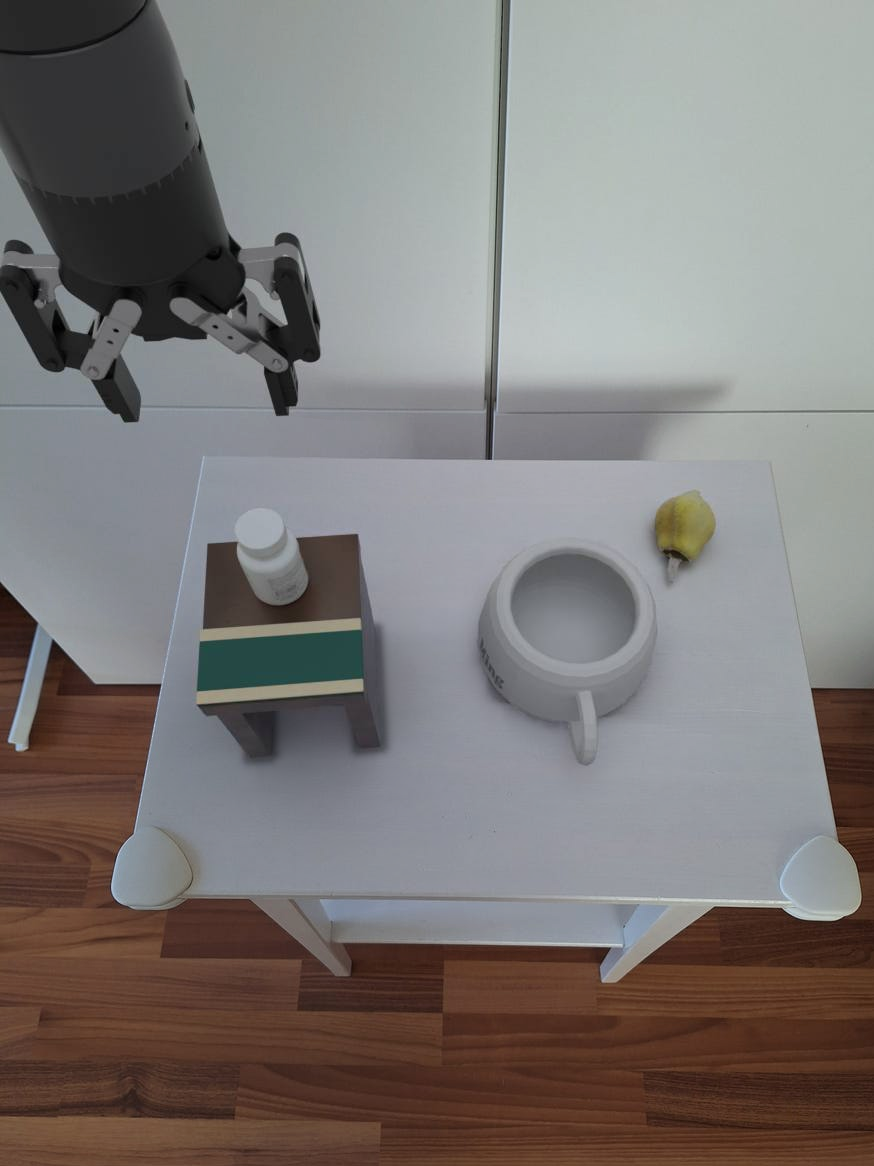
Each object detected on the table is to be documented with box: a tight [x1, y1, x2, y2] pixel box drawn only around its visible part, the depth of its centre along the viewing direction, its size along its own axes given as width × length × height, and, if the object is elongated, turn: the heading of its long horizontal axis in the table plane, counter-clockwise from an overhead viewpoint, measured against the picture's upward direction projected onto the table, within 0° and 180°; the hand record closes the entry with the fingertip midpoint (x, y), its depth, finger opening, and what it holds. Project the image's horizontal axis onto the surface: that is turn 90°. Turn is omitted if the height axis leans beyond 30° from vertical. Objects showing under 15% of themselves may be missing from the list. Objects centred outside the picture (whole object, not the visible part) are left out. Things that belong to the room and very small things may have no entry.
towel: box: [195, 618, 364, 708], centre depth 59 cm, size 12×6×1 cm, turn 96°
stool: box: [198, 533, 382, 758], centre depth 68 cm, size 12×14×16 cm
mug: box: [476, 536, 658, 767], centre depth 72 cm, size 21×17×10 cm
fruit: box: [653, 489, 717, 584], centre depth 81 cm, size 6×6×10 cm
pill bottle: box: [234, 507, 308, 605], centre depth 59 cm, size 4×4×8 cm
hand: (209, 407), depth 46 cm, fingers open, 8 cm apart
